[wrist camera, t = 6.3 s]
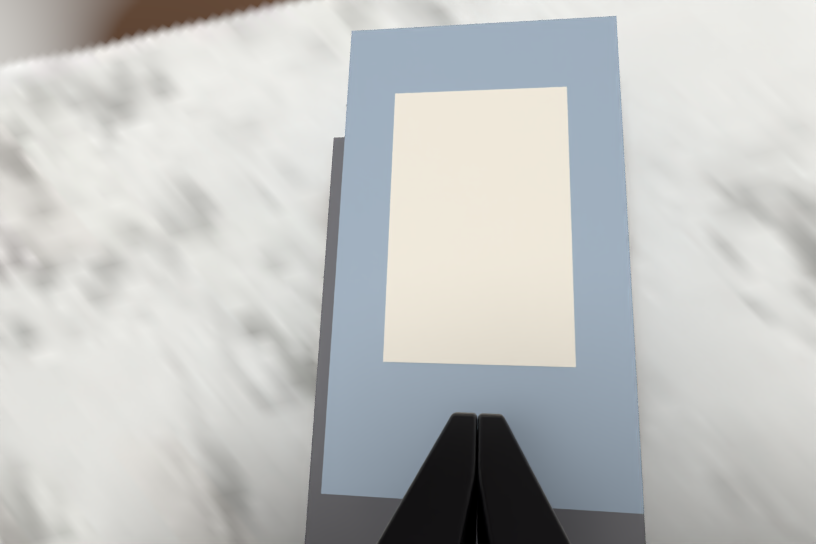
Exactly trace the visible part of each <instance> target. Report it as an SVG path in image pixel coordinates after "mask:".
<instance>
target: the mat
mask: <svg viewBox="0 0 816 544" xmlns="http://www.w3.org/2000/svg"><path fill="white" fill-rule="evenodd" d="M344 142H345V137H342V138H334V143H333V157H332V171H331V185H330V199H329V213H328V227H327V241H326V255H325V269H324V283H323V297H322V311H321V325H320V339H319V353H318V367H317V381H316V395H315V409H314V423H313V437H312V451H311V465H310V479H309V493H308V507H307V521H306V535H305V544H377V542H378V540H379V538H380V537H381V535H382V533H383V531H384V530H385V528H386V526H387V525H388V523H389V521H390V519H391V518H392V516H393V514H394V513H395V511H396V509H397V507H398V506H399V504H400V502H401V500H402V499H398V498H382V497H367V496H351V495H335V494H321V487H322V472H323V457H324V442H325V427H326V412H327V397H328V382H329V367H330V352H331V337H332V322H333V307H334V292H335V277H336V262H337V247H338V232H339V217H340V202H341V187H342V172H343V157H344ZM553 510H554V512H555V514H556V516H557V518H558V520H559V522H560V524H561V525H562V527H563V529H564V531H565V533H566V535H567V537H568V539H569V541H570V543H571V544H646V542H645V524H644V514H636V513H620V512H605V511H589V510H573V509H557V508H553ZM476 544H477V539H476Z"/></svg>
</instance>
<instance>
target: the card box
mask: <svg viewBox="0 0 816 544" xmlns="http://www.w3.org/2000/svg"><path fill="white" fill-rule="evenodd" d="M454 412H467V413H475V414H476V415H477V417H478V416H479V414H481V413H492V414H501V415H503V416H504V417H505V419H506V421H507V423H508V425H509V426H510V428H511V430H512V432H513V434H514V436H515V438H516V440H517V442H518V444H519V445H520V447H521V449H522V451H523V453H524V455H525V457H526V459H527V461H528V463H529V465H530V466H531V468H532V470H533V472H534V474H535V476H536V478H537V480H538V482H539V484H540V485H541V487H542V489H543V491H544V493H545V495H546V497H547V499H548V501H549V503H550V505H551V506H552V508H557V509H573V510H589V511H605V512H620V513H636V514H644V502H643V484H642V467H641V449H640V431H639V413H638V395H637V377H636V360H635V342H634V324H633V306H632V288H631V271H630V253H629V235H628V217H627V199H626V181H625V164H624V146H623V128H622V110H621V92H620V74H619V57H618V39H617V21H616V16H608V17H591V18H573V19H556V20H538V21H520V22H503V23H485V24H467V25H450V26H432V27H414V28H397V29H379V30H361V31H352V37H351V52H350V67H349V82H348V97H347V112H346V127H345V142H344V157H343V172H342V187H341V202H340V217H339V232H338V247H337V262H336V277H335V292H334V307H333V322H332V337H331V352H330V367H329V382H328V397H327V412H326V427H325V442H324V457H323V472H322V487H321V494H335V495H351V496H367V497H382V498H398V499H403V497H404V495H405V494H406V492H407V490H408V488H409V487H410V485H411V483H412V482H413V480H414V478H415V476H416V475H417V473H418V471H419V469H420V468H421V466H422V464H423V463H424V461H425V459H426V457H427V456H428V454H429V452H430V450H431V449H432V447H433V445H434V444H435V442H436V440H437V438H438V437H439V435H440V433H441V432H442V430H443V428H444V426H445V425H446V423H447V421H448V419H449V418H450V416H451V415H452V414H453V413H454Z"/></svg>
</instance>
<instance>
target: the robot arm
mask: <svg viewBox="0 0 816 544" xmlns="http://www.w3.org/2000/svg"><path fill="white" fill-rule="evenodd" d="M476 539H477V544H571V543H570V541H569V539H568V537H567V535H566V533H565V531H564V529H563V527H562V525H561V524H560V522H559V520H558V518H557V516H556V514H555V512H554V510H553V508H552V506H551V505H550V503H549V501H548V499H547V497H546V495H545V493H544V491H543V489H542V487H541V485H540V484H539V482H538V480H537V478H536V476H535V474H534V472H533V470H532V468H531V466H530V465H529V463H528V461H527V459H526V457H525V455H524V453H523V451H522V449H521V447H520V445H519V444H518V442H517V440H516V438H515V436H514V434H513V432H512V430H511V428H510V426H509V425H508V423H507V421H506V419H505V417H504V416H503V415H501V414H492V413H481V414H479V416H478V417H477V415H476V414H475V413H467V412H454V413H453V414H452V415H451V416H450V418H449V419H448V421H447V423H446V425H445V426H444V428H443V430H442V432H441V433H440V435H439V437H438V438H437V440H436V442H435V444H434V445H433V447H432V449H431V450H430V452H429V454H428V456H427V457H426V459H425V461H424V463H423V464H422V466H421V468H420V469H419V471H418V473H417V475H416V476H415V478H414V480H413V482H412V483H411V485H410V487H409V488H408V490H407V492H406V494H405V495H404V497H403V499H402V500H401V502H400V504H399V506H398V507H397V509H396V511H395V513H394V514H393V516H392V518H391V519H390V521H389V523H388V525H387V526H386V528H385V530H384V531H383V533H382V535H381V537H380V538H379V540H378V542H377V544H476Z"/></svg>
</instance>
